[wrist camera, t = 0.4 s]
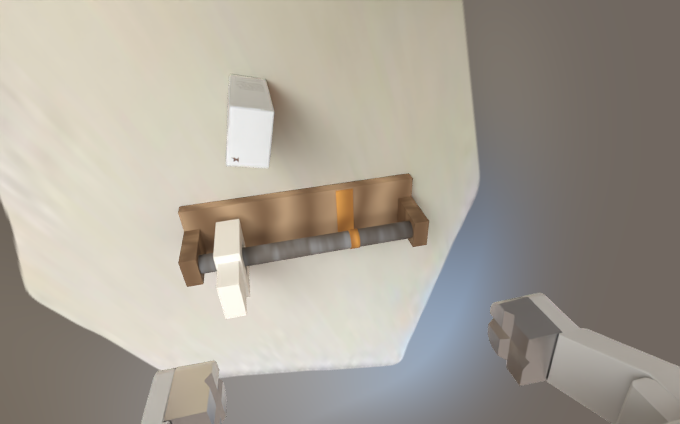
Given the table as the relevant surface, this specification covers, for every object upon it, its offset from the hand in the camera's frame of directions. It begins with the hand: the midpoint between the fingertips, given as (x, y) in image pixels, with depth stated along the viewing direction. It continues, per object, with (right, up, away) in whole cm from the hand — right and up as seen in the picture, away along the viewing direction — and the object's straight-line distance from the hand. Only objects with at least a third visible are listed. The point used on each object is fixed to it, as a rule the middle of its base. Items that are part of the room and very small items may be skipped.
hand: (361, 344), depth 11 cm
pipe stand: (-6, +3, +46) cm, 46 cm away
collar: (-15, 0, +42) cm, 44 cm away
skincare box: (-12, +17, +35) cm, 41 cm away
